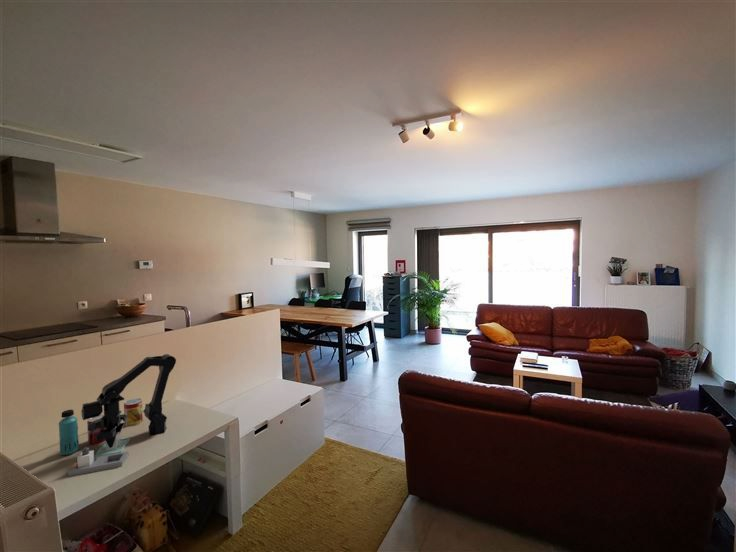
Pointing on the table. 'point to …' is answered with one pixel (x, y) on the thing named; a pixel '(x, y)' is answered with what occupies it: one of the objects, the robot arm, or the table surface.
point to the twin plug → (85, 458)
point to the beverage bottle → (68, 433)
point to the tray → (120, 448)
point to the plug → (116, 443)
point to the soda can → (94, 432)
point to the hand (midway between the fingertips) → (113, 444)
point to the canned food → (133, 412)
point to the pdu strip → (101, 463)
